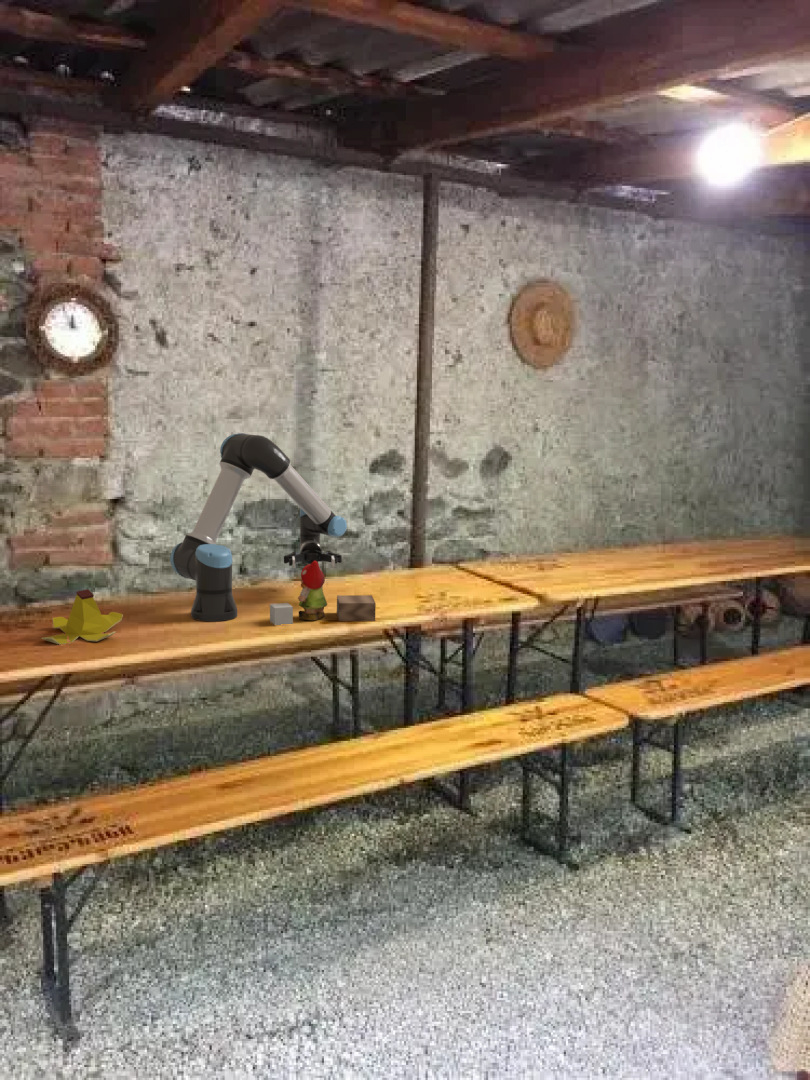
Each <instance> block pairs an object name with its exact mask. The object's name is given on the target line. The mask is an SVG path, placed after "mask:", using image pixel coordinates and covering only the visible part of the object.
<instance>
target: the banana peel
mask: <svg viewBox="0 0 810 1080" xmlns="http://www.w3.org/2000/svg"><path fill="white" fill-rule="evenodd" d="M94 596H95V595H94V593H92V592H91V590H89V589H83V590H78V591H76V596H75V599H74V600H73V601H74V602H73V604H72V607H71V611H70V612H69V616H68V618H65V617H63V616H57V617H52V619H51V620H52V627H53V629H60V630H61V631H62V632H63V633H61V634H55V635H52V636H46V637H41V640H44V641H47V642H50V643H53V644H56V645H58V644H59V645H58V646H61V645H60V644H64V645H67V644H66V643H69V642H67V636H68V637H69V640H70V643H69V644H72V643H73V642H74V641H76V640H77V639H78V638H79V637H80V638H82V639H83V640H85V641H86V642H99V641H101V640H104V639H106V638H109V637H111V636H113V635H114V634H116V631H112V632H110V633H106V632H107V631H108V630H110V629H112V627H114V626H115V625H117V624H118V623H119V622H121V621H123V620H122V619H123V616H124V614H122V613H119V612H114V611H111V612H109V614H102V613H101V610H100V608H99V606H98V604H97V602H96V600H95V598H94ZM102 632H105V633H103V634H101V633H102ZM64 633H66V634H65V635H64ZM71 642H72V643H71Z"/></svg>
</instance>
